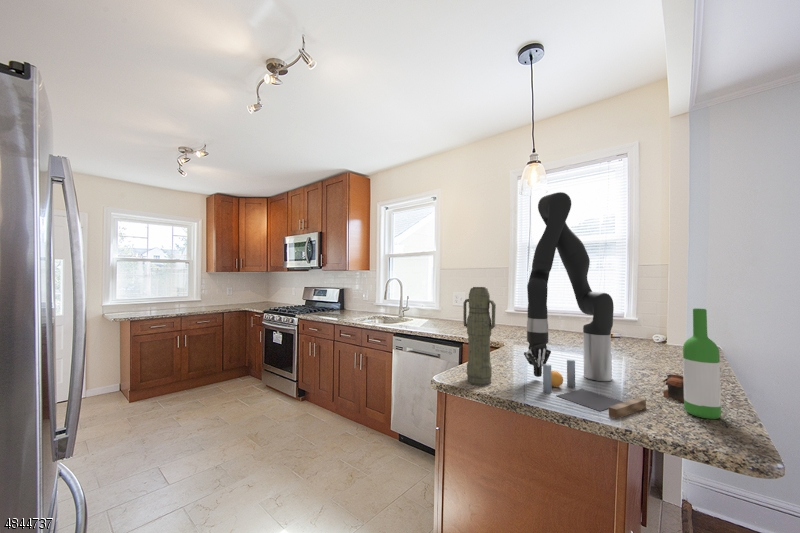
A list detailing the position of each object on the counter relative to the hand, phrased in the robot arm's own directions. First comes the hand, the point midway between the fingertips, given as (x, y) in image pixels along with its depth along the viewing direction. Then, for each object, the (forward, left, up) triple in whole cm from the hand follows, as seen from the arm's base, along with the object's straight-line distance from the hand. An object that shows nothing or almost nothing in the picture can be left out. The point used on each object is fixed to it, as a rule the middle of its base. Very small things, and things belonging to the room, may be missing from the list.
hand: (537, 376), depth 123 cm
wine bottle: (-15, +43, -2) cm, 46 cm away
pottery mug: (-26, +35, -2) cm, 43 cm away
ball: (+1, +8, +1) cm, 8 cm away
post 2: (-5, +10, -2) cm, 11 cm away
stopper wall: (+2, +32, -2) cm, 32 cm away
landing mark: (+2, +21, -2) cm, 21 cm away
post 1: (+8, +10, -2) cm, 13 cm away
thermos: (+21, -9, -2) cm, 23 cm away
